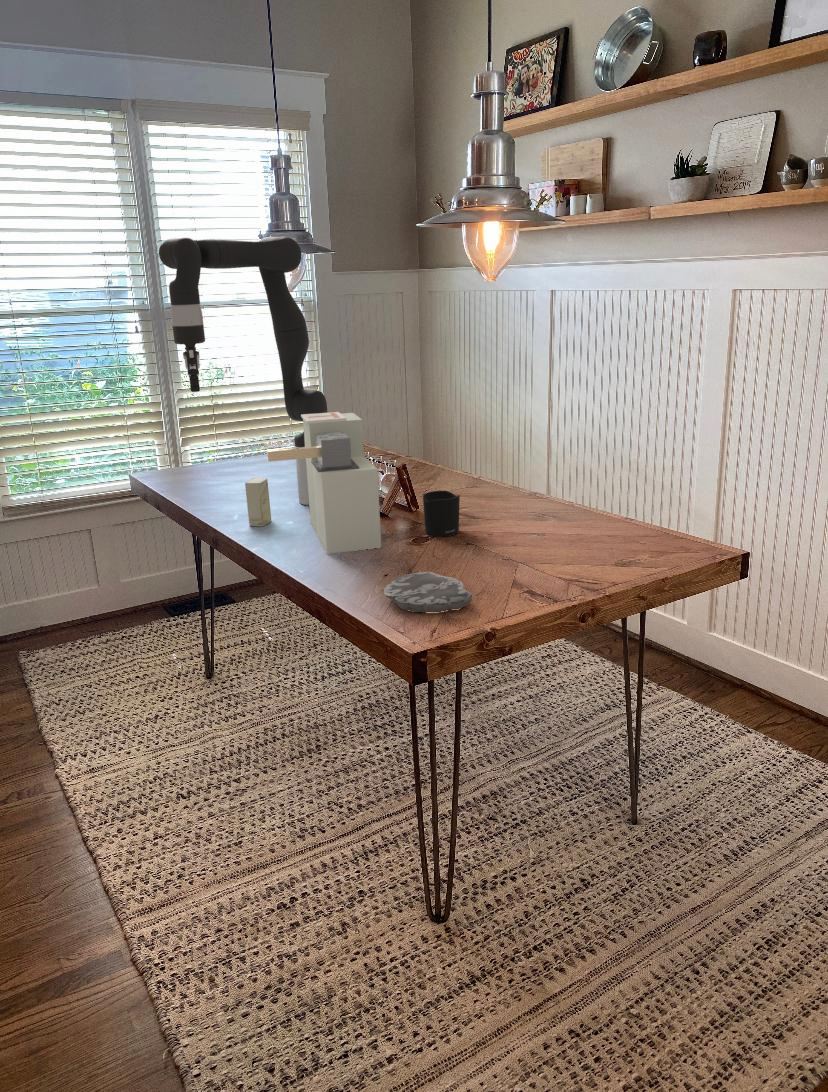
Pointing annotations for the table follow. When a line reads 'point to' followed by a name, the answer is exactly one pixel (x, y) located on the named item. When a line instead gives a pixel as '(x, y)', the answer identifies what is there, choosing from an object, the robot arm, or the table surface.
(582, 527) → the table surface
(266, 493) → the skincare box
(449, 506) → the pen holder
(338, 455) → the mallet
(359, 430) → the stepped stand
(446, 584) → the brain slice
